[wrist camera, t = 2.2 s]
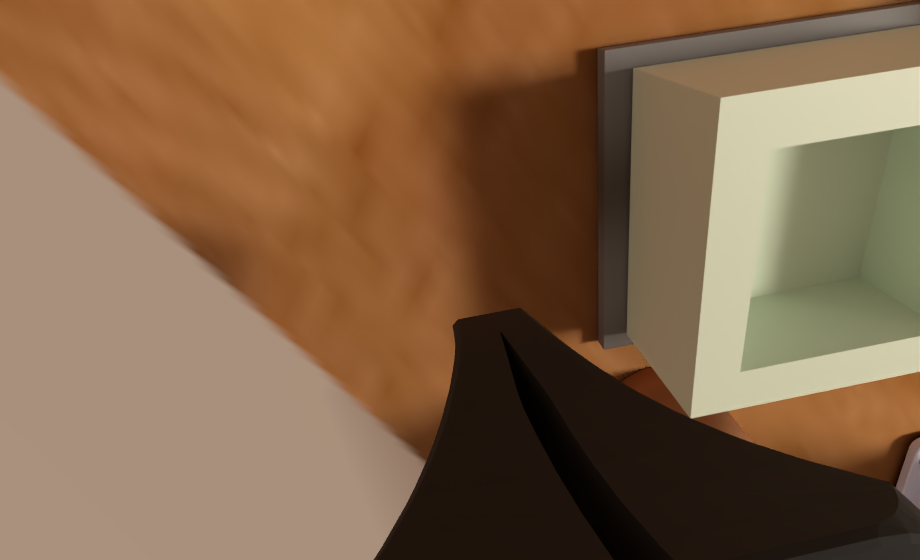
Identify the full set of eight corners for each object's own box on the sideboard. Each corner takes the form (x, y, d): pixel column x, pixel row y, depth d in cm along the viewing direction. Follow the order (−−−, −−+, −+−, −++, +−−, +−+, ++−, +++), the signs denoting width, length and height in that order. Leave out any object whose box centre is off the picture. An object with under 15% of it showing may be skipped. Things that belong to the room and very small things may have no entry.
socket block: (861, 289, 19) (975, 359, 16) (626, 334, 18) (690, 418, 15) (926, 23, 15) (1095, 38, 12) (633, 68, 15) (721, 98, 11)
